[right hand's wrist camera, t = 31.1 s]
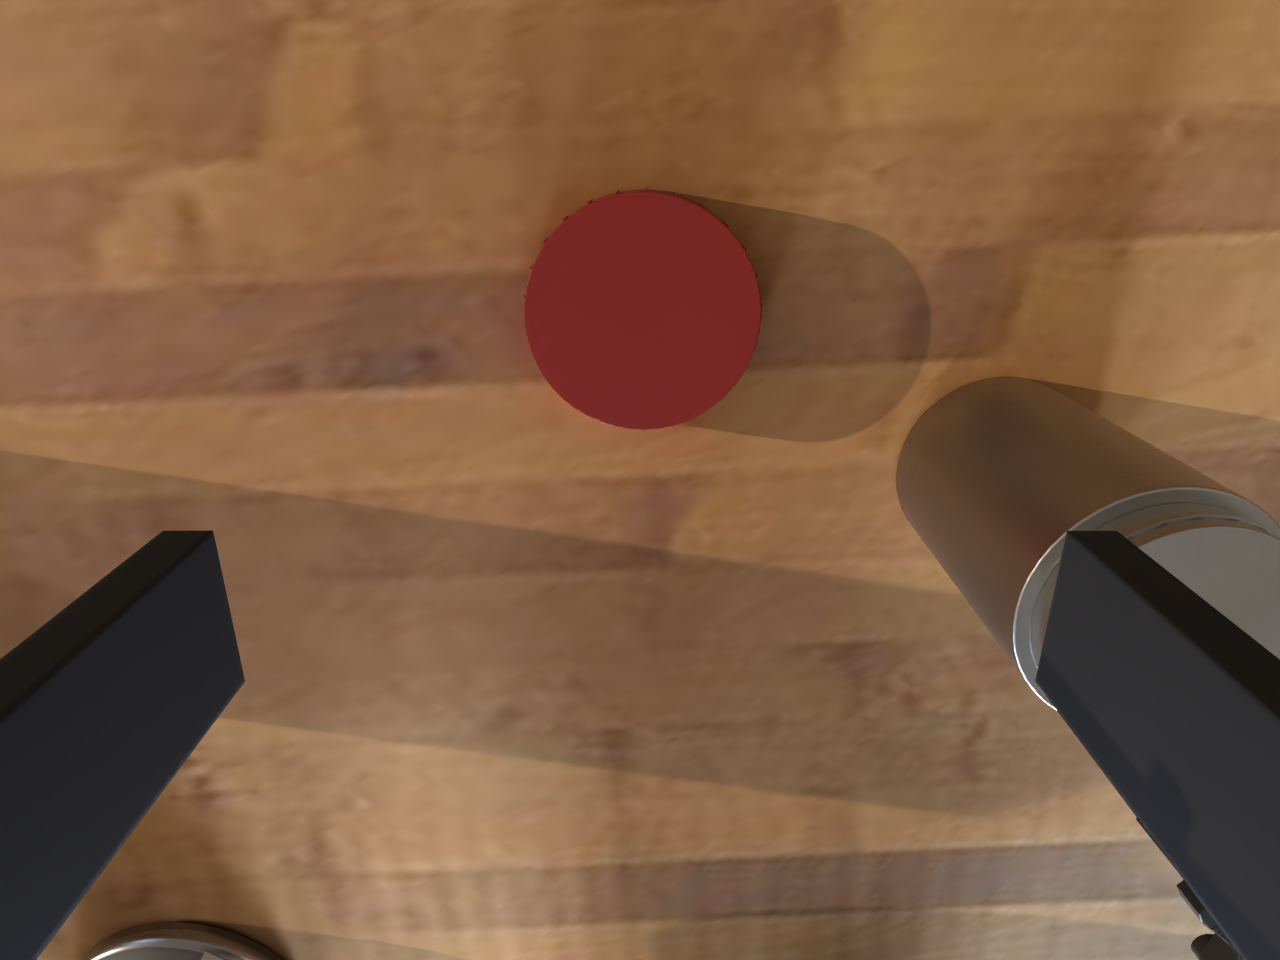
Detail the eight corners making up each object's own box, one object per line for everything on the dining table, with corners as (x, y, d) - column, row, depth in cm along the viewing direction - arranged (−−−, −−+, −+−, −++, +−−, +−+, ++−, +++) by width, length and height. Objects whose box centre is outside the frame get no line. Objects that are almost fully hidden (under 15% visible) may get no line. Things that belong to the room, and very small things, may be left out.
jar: (964, 587, 42) (1130, 808, 28) (857, 462, 40) (980, 636, 25) (1123, 475, 40) (1392, 653, 26) (1020, 335, 37) (1255, 448, 23)
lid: (664, 458, 40) (665, 473, 38) (484, 331, 37) (476, 340, 35) (803, 285, 37) (812, 292, 35) (616, 136, 34) (615, 135, 32)
